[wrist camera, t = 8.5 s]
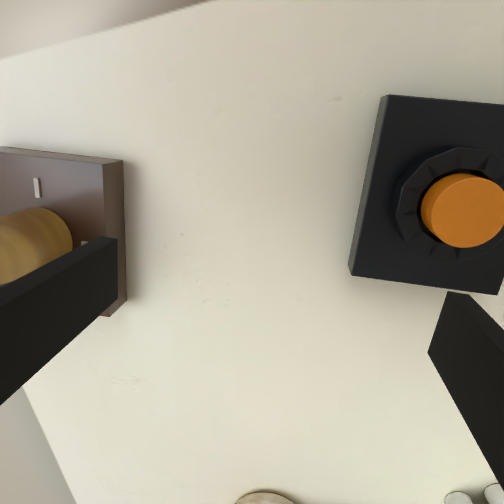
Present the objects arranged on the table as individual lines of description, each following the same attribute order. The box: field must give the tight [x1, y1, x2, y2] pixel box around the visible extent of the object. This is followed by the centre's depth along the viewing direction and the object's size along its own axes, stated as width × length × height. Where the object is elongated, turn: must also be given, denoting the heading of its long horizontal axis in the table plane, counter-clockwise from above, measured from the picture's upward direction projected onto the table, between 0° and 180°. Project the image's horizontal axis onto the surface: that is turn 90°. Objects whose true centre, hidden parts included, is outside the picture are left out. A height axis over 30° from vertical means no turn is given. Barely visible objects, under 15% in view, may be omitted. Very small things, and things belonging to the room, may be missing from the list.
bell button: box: [421, 173, 504, 248], centre depth 21 cm, size 4×4×2 cm
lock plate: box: [0, 147, 127, 317], centre depth 29 cm, size 12×10×3 cm
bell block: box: [348, 94, 504, 295], centre depth 24 cm, size 12×10×4 cm
